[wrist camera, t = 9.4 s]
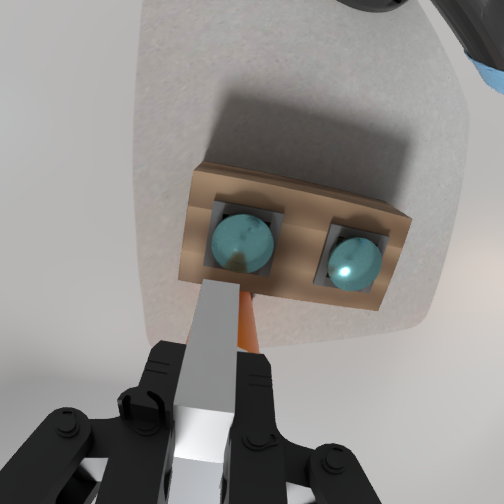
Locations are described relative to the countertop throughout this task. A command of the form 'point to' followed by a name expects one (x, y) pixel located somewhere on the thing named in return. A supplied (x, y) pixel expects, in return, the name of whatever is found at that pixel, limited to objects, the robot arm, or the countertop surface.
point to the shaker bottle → (245, 325)
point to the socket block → (289, 234)
